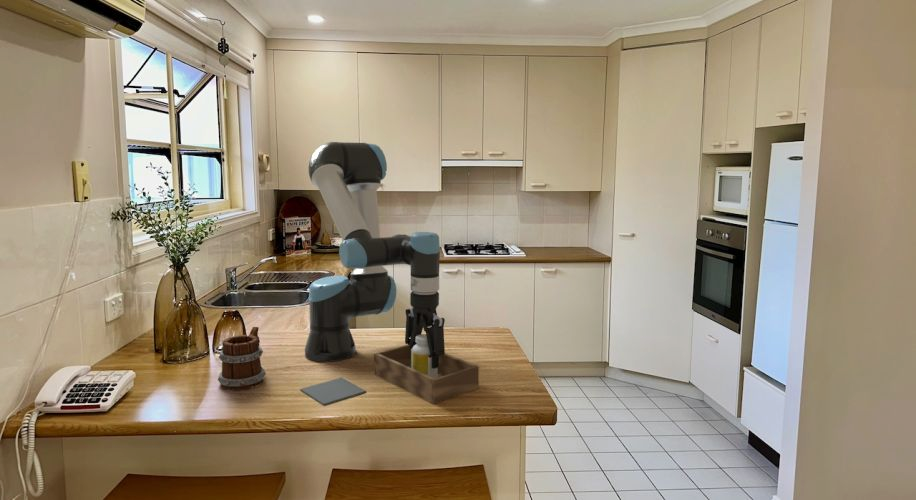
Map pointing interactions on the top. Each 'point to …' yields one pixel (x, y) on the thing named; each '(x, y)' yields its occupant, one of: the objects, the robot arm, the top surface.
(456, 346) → the top surface
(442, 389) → the box frame
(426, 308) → the robot arm
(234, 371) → the mug
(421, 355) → the pill bottle
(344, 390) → the slate mat
